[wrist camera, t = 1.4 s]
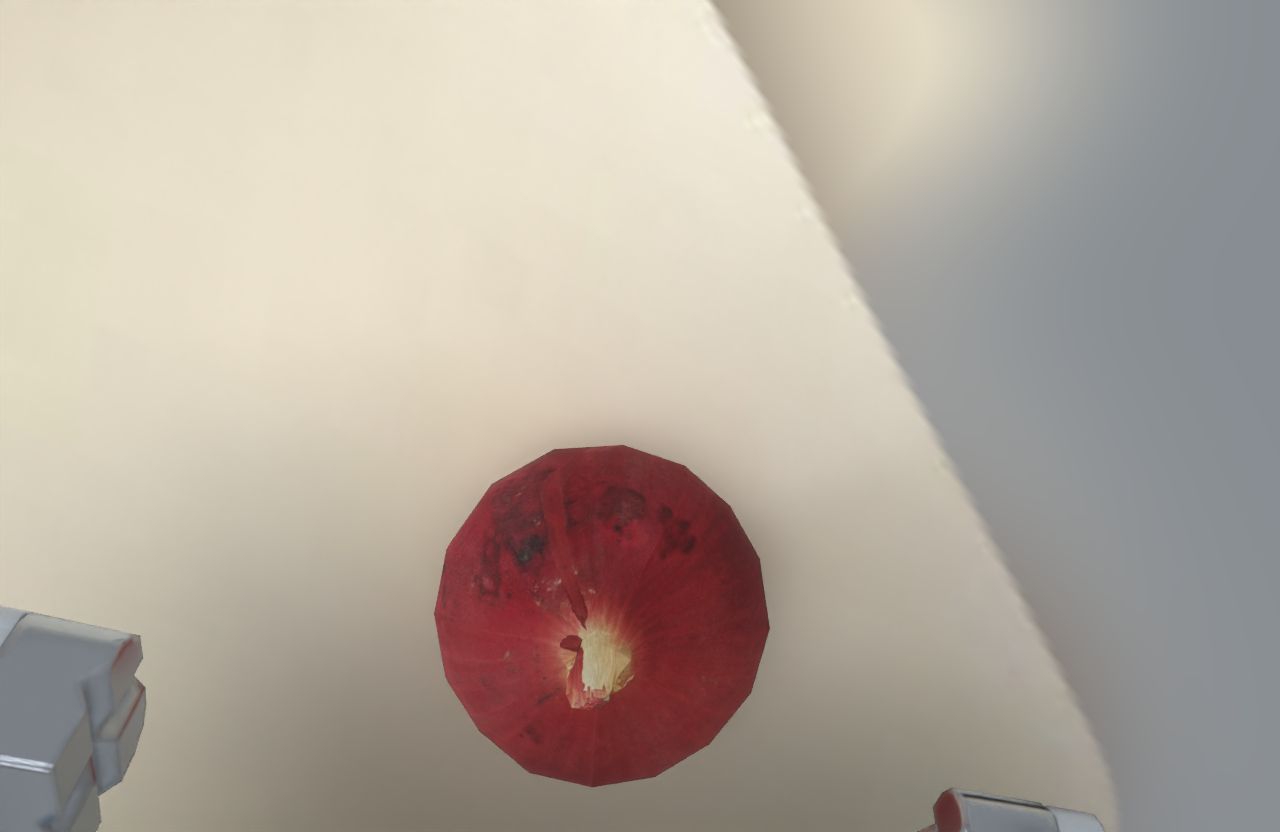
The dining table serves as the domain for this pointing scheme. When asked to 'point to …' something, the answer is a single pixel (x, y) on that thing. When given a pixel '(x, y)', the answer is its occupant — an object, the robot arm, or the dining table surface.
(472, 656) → the onion
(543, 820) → the dining table surface
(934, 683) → the dining table surface
